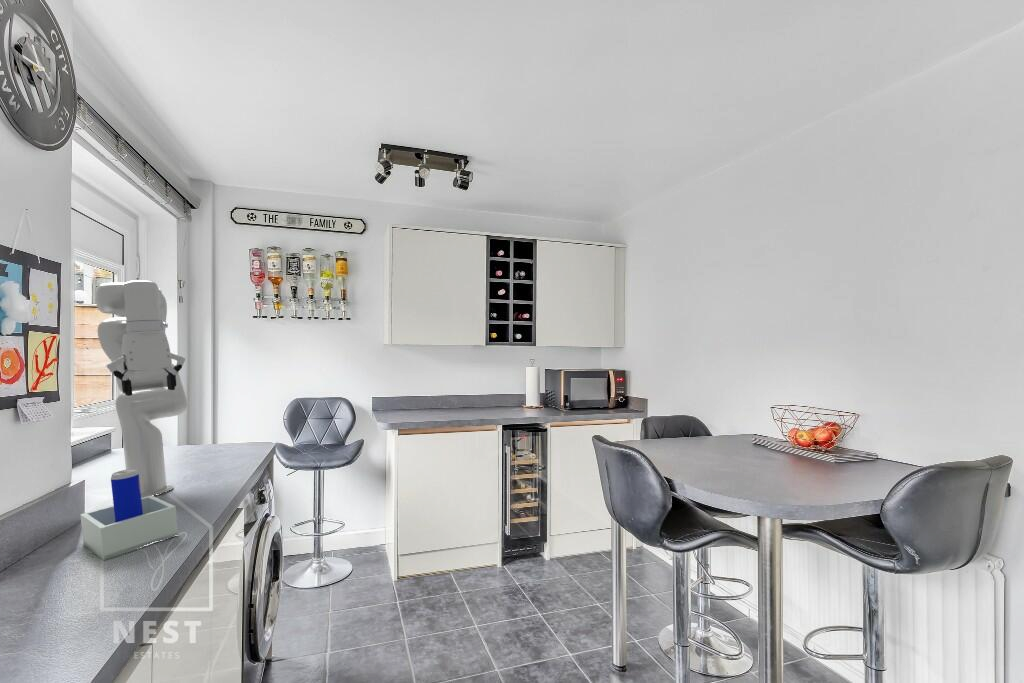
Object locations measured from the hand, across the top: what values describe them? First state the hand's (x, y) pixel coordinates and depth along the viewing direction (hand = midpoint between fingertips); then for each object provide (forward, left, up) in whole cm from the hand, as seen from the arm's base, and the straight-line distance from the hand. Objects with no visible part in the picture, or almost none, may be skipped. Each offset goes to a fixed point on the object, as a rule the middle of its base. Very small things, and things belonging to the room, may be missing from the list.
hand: (150, 392), depth 134 cm
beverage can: (+15, -11, -32) cm, 37 cm away
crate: (+15, -11, -32) cm, 37 cm away
